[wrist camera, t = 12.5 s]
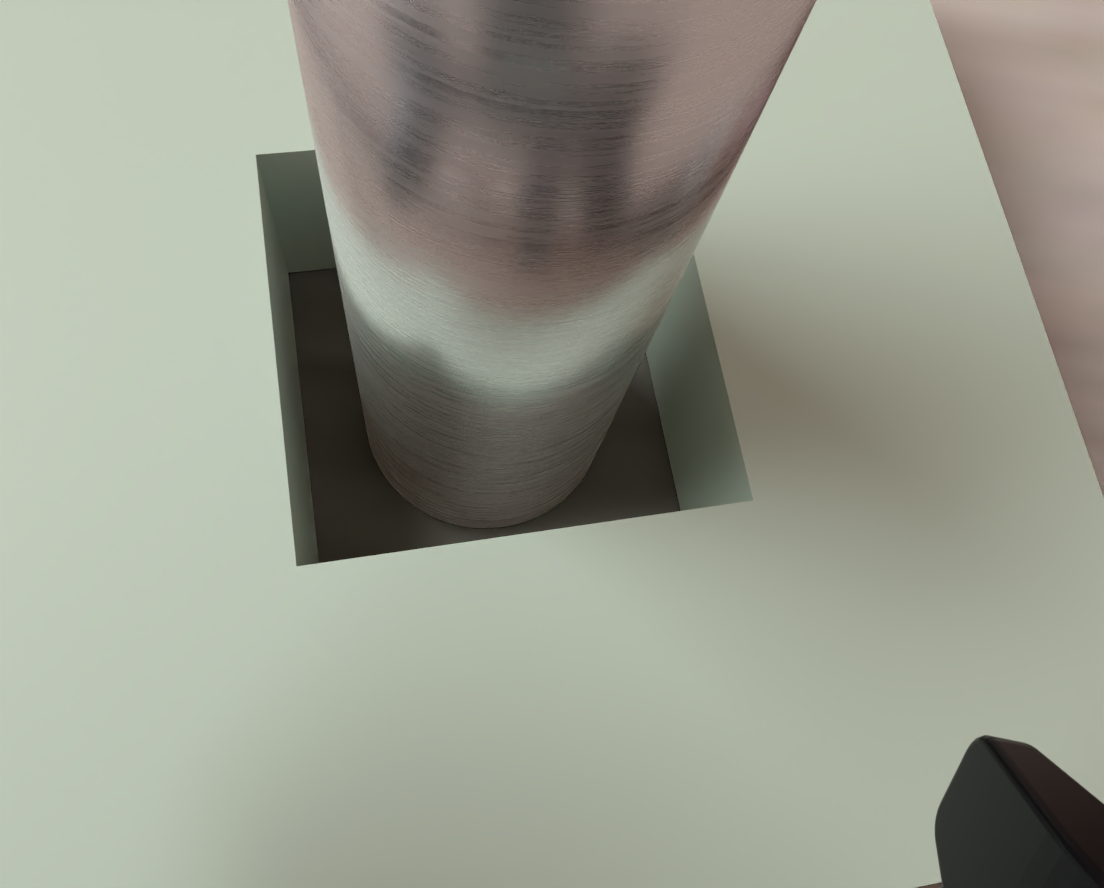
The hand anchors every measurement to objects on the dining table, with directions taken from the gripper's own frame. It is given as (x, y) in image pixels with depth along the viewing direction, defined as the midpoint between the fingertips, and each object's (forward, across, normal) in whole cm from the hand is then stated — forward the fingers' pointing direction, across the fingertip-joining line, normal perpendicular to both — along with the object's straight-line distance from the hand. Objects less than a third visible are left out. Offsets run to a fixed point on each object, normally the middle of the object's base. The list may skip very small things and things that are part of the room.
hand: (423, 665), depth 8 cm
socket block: (+9, 0, +2) cm, 9 cm away
